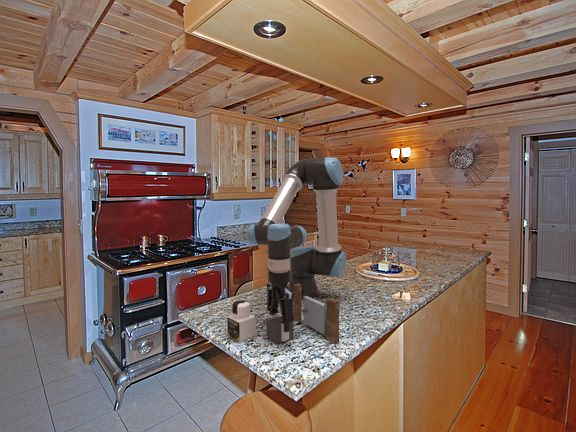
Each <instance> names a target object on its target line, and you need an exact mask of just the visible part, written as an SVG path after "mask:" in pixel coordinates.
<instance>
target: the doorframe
mask: <svg viewBox="0 0 576 432" xmlns="http://www.w3.org/2000/svg"><path fill="white" fill-rule="evenodd" d="M293 293H294V295H293V296H294V297H293V316H294V321H295V322H299V321H302V318H303V317H302V316H303V312H302V309H303V308H302V306H303V305H302V303H303V302H302V301H303V300H302V285H301V284H294V285H293ZM326 304H327V312H326V337H325V338H326V339H325V340H326V341H328V342H330V343H332V344H336V343H339V342H340V300H338V299H336V298H334V297H330V298H326Z"/></svg>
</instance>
